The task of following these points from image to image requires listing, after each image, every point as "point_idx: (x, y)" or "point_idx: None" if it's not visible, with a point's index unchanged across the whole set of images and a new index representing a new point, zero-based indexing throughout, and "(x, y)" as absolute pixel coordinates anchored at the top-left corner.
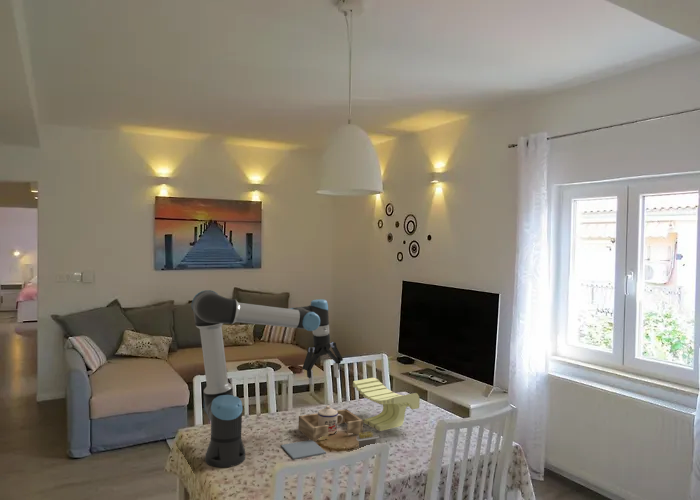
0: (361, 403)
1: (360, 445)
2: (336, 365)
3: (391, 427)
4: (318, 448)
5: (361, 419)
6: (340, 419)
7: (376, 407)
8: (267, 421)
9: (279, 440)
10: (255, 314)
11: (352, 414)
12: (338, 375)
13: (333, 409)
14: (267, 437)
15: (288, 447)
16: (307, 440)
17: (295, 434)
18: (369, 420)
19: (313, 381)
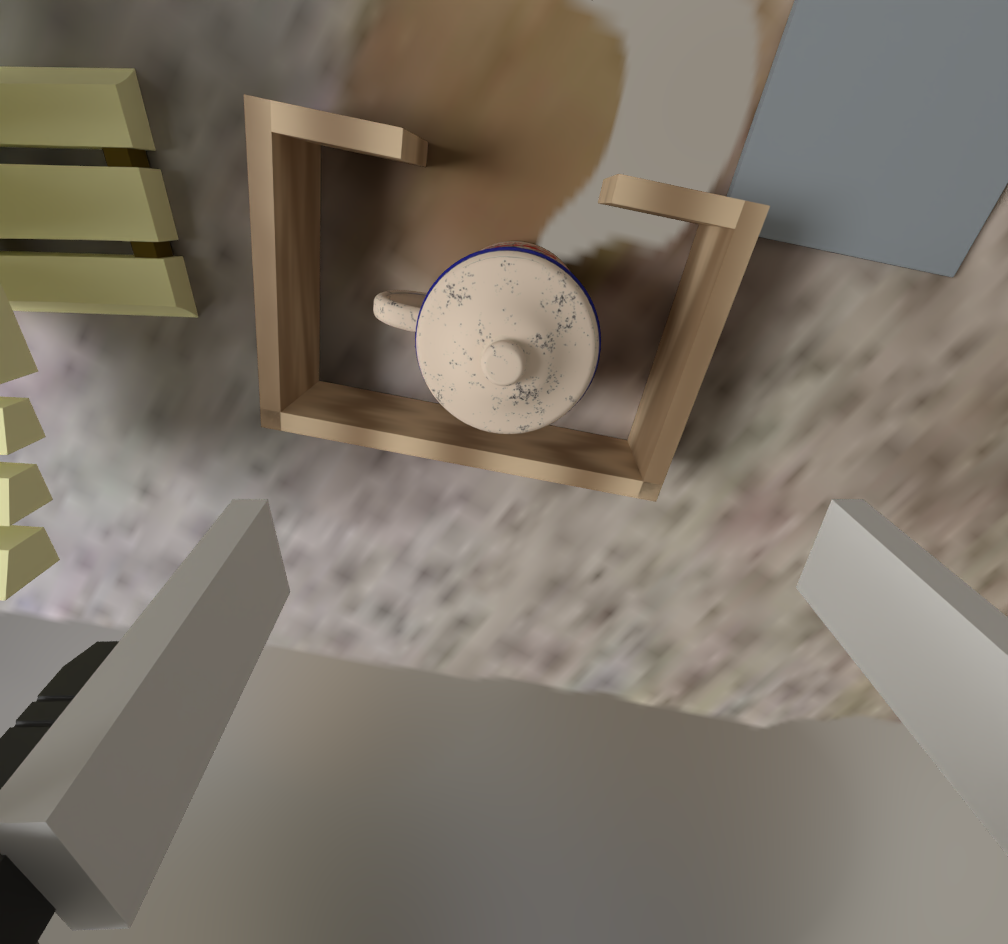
0: (79, 571)
1: None
2: (98, 770)
3: (9, 70)
4: (820, 17)
5: (247, 129)
6: (344, 396)
7: None
8: (696, 627)
9: (866, 371)
10: None
11: (269, 297)
12: (219, 527)
13: (450, 340)
14: (877, 452)
15: (961, 200)
16: None
17: (714, 397)
18: (145, 259)
19: (880, 539)
